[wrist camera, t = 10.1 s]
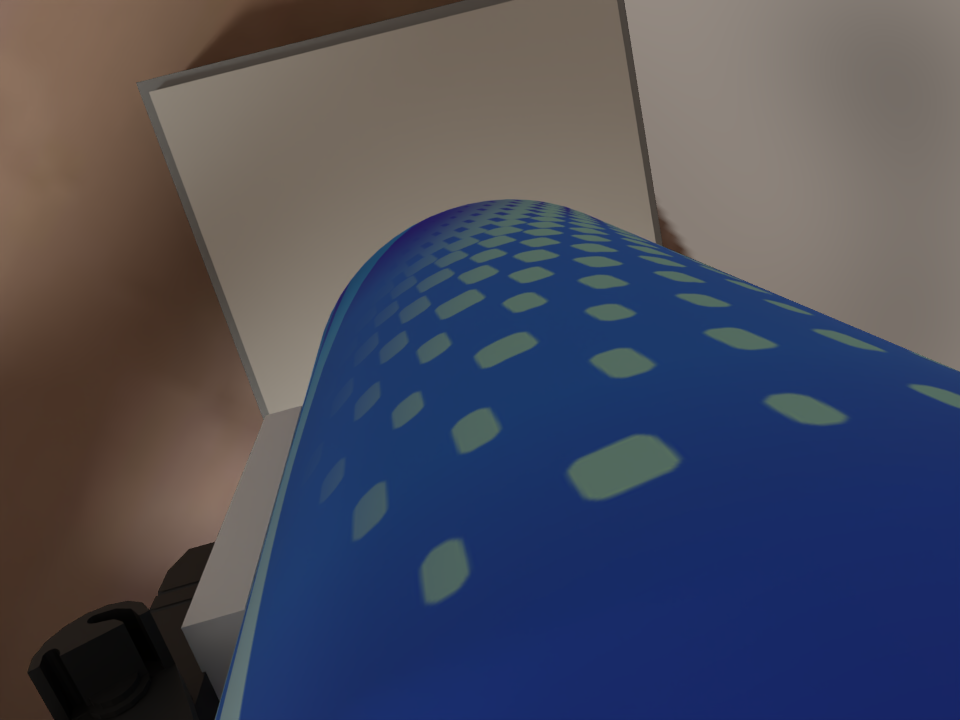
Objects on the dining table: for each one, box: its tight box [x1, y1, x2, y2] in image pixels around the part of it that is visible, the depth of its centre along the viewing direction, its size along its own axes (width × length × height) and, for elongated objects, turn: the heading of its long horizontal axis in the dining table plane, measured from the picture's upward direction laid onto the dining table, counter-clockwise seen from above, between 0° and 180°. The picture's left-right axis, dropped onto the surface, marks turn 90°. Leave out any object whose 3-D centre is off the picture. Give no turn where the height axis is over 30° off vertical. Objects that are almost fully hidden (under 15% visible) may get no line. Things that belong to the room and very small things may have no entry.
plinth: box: [136, 0, 663, 420], centre depth 34 cm, size 20×20×5 cm
